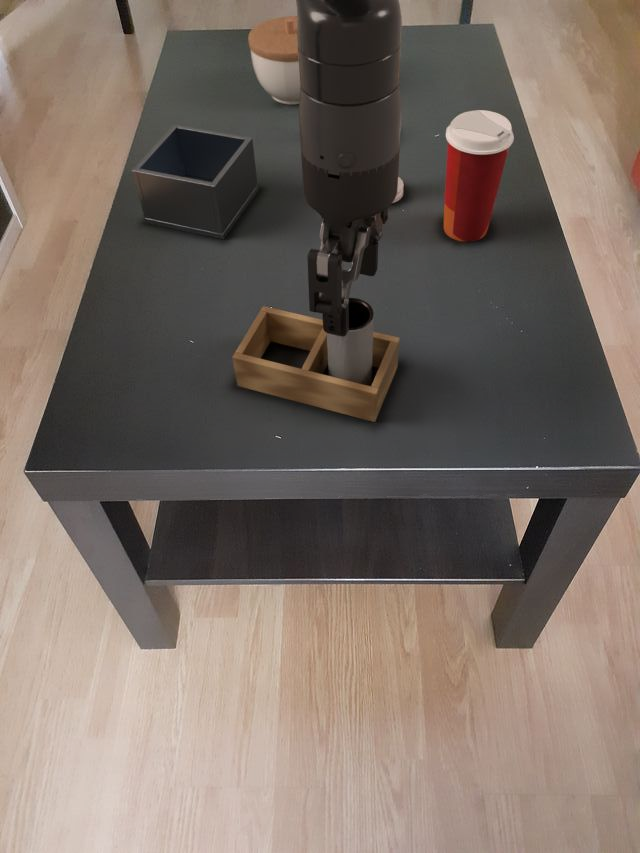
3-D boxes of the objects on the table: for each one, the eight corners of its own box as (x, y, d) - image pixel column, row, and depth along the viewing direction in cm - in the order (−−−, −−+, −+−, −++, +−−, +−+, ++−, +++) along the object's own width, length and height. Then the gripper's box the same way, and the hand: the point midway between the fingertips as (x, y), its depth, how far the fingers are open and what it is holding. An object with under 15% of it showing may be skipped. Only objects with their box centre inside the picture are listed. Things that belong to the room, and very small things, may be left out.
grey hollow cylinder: (320, 389, 75) (316, 318, 67) (343, 363, 77) (343, 290, 69) (356, 407, 74) (357, 336, 65) (379, 379, 76) (382, 307, 68)
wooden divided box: (237, 386, 76) (231, 357, 72) (266, 335, 81) (263, 305, 77) (374, 422, 72) (376, 393, 69) (397, 367, 77) (399, 337, 73)
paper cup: (507, 226, 91) (529, 122, 80) (472, 255, 88) (490, 151, 77) (457, 202, 95) (472, 100, 84) (422, 230, 91) (432, 126, 80)
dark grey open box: (145, 223, 94) (131, 170, 88) (184, 176, 101) (174, 123, 94) (223, 239, 91) (214, 186, 85) (258, 190, 98) (252, 137, 92)
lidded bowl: (337, 75, 117) (336, 3, 108) (326, 115, 110) (324, 40, 101) (263, 72, 119) (256, 1, 110) (247, 111, 111) (238, 37, 102)
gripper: (334, 88, 58) (338, 247, 71) (267, 184, 50) (285, 345, 63) (423, 100, 57) (410, 262, 69) (368, 203, 49) (365, 364, 61)
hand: (351, 301), depth 66 cm, fingers open, 8 cm apart
